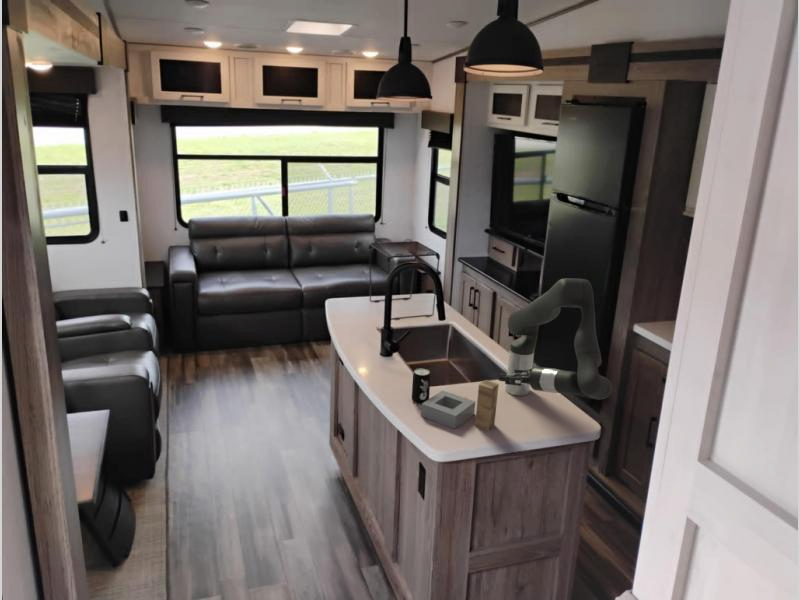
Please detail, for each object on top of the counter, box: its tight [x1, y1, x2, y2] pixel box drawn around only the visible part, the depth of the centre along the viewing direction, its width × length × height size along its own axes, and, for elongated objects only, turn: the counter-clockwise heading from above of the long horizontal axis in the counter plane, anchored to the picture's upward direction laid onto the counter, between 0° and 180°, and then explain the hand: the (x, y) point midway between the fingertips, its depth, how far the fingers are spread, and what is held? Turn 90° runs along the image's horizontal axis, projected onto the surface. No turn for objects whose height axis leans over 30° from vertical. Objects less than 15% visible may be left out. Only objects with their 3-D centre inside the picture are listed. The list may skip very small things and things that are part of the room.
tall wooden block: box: [474, 379, 499, 431], centre depth 218 cm, size 5×5×16 cm
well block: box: [420, 390, 476, 429], centre depth 225 cm, size 14×14×5 cm
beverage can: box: [411, 367, 432, 405], centre depth 234 cm, size 7×7×12 cm
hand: (507, 374), depth 208 cm, fingers open, 8 cm apart
